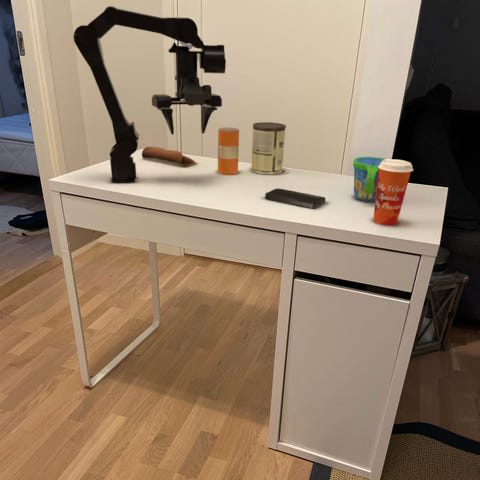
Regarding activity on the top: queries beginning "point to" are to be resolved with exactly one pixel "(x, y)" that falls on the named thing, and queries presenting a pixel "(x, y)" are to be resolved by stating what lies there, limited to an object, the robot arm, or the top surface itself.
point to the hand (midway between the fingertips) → (187, 133)
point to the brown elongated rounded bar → (167, 155)
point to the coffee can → (268, 147)
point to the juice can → (228, 150)
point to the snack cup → (366, 177)
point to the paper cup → (391, 190)
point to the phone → (295, 198)
